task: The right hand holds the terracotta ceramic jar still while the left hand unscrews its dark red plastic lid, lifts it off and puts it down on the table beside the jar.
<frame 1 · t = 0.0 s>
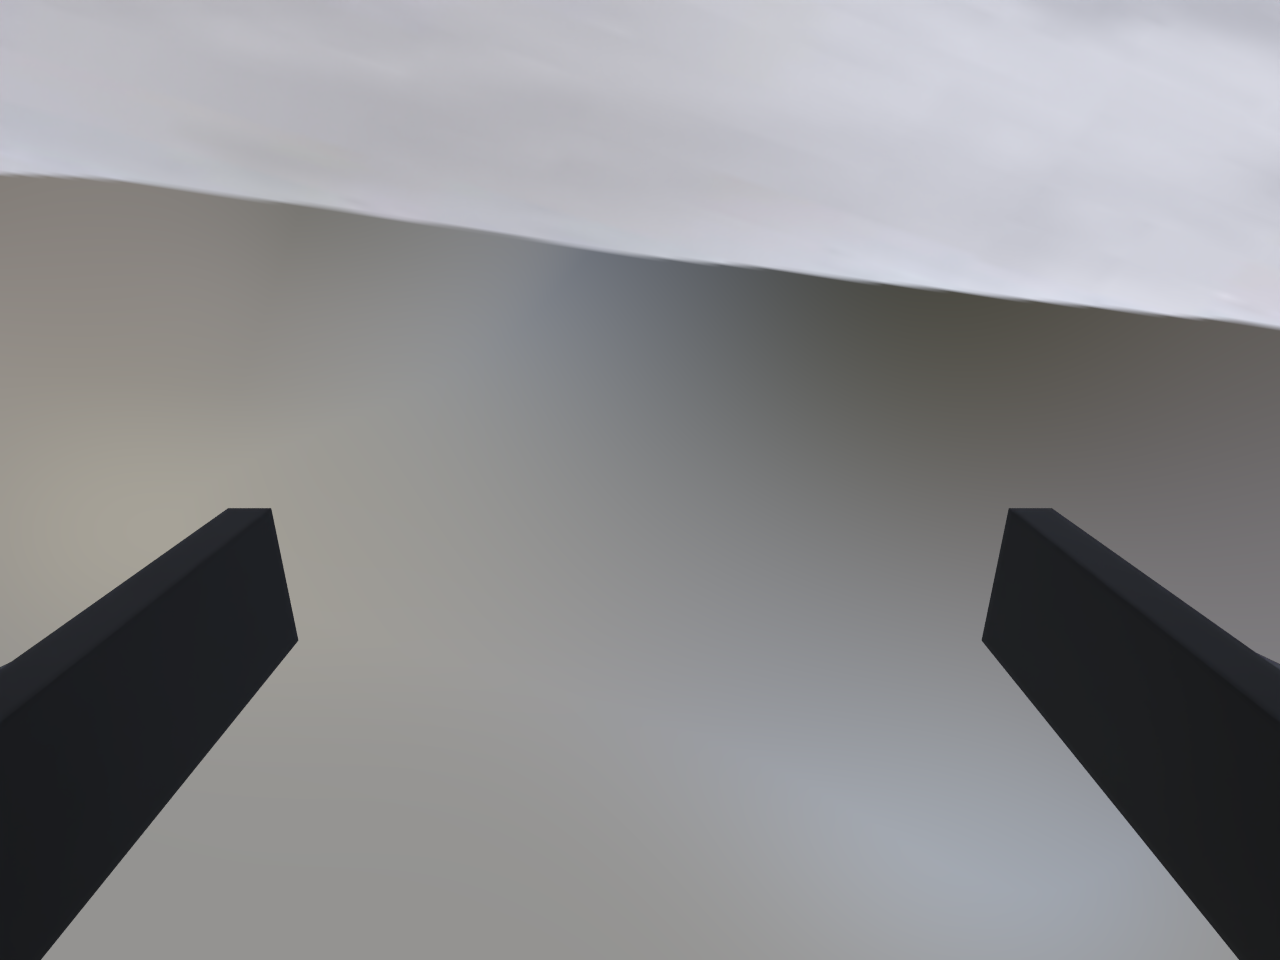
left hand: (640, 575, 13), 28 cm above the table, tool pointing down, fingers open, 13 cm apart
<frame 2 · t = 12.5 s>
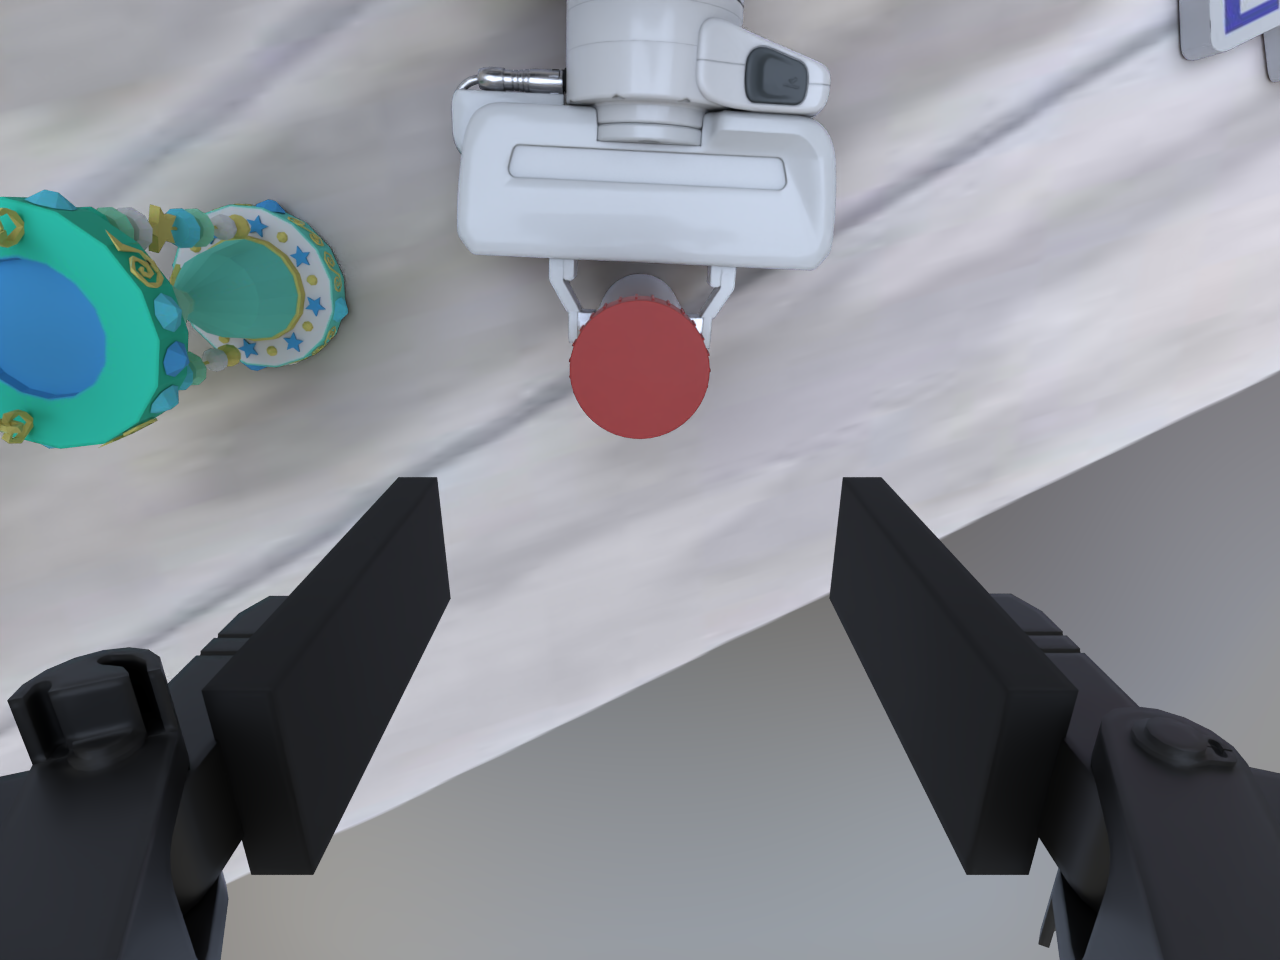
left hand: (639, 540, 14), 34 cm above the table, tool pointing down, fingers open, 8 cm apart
right hand: (639, 344, 41), fingers closed on jar, 5 cm apart
jar: (639, 315, 46), on the table, touching right hand
lid: (639, 370, 29), point 18 cm above the table, screwed on, not yet turned
decorative hourglass: (270, 286, 45), on the table
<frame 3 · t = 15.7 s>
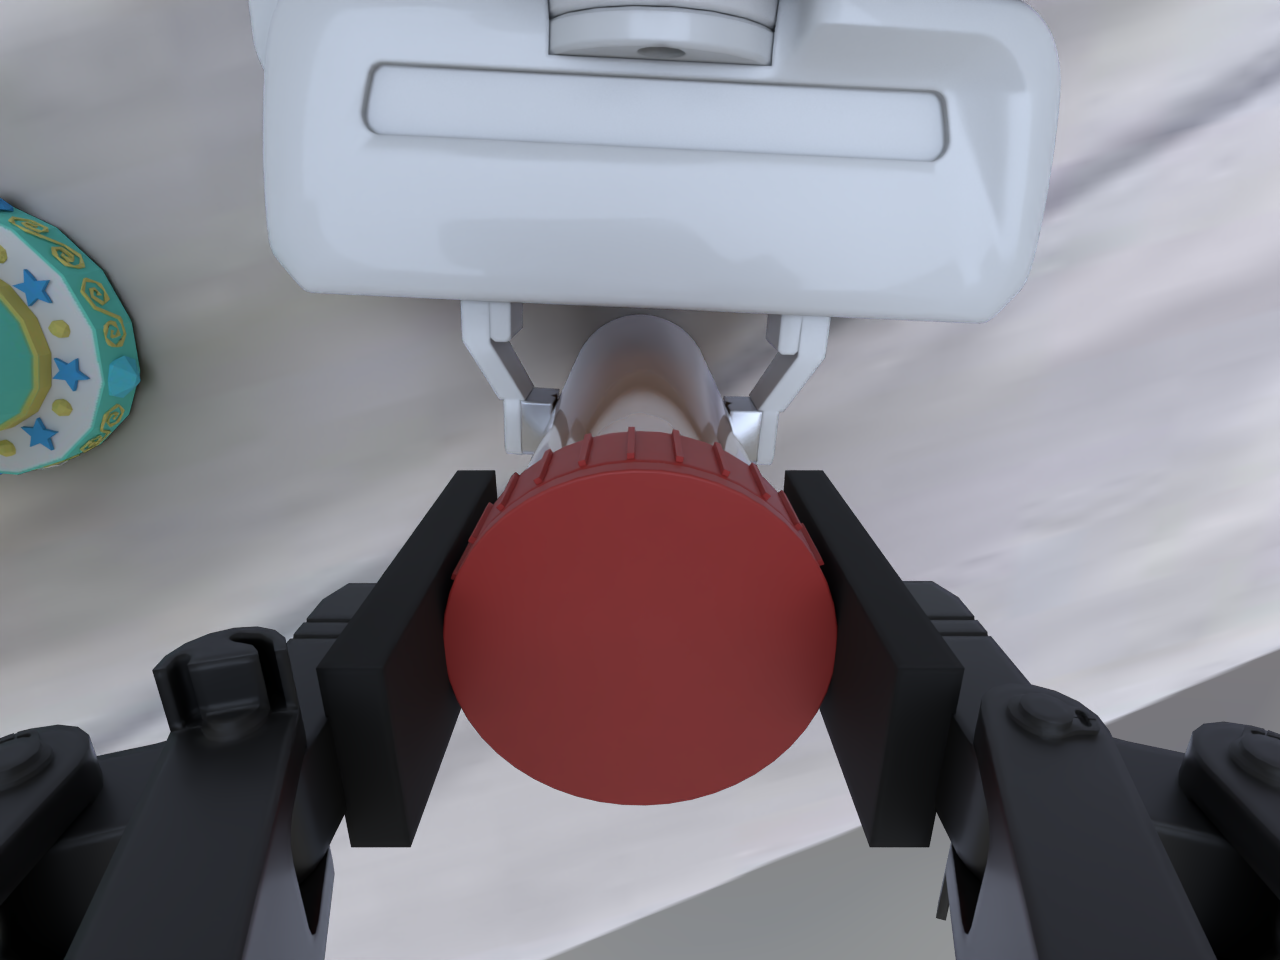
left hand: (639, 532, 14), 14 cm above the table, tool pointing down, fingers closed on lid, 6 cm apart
right hand: (640, 454, 22), fingers closed on jar, 5 cm apart
jar: (640, 382, 27), on the table, touching right hand
lid: (640, 641, 11), point 18 cm above the table, screwed on, not yet turned, touching left hand
decorative hourglass: (10, 335, 27), on the table
when the left hand's fingers open (14 cm above the table, at t = 16.9 s): lid stays where it is, point 18 cm above the table.
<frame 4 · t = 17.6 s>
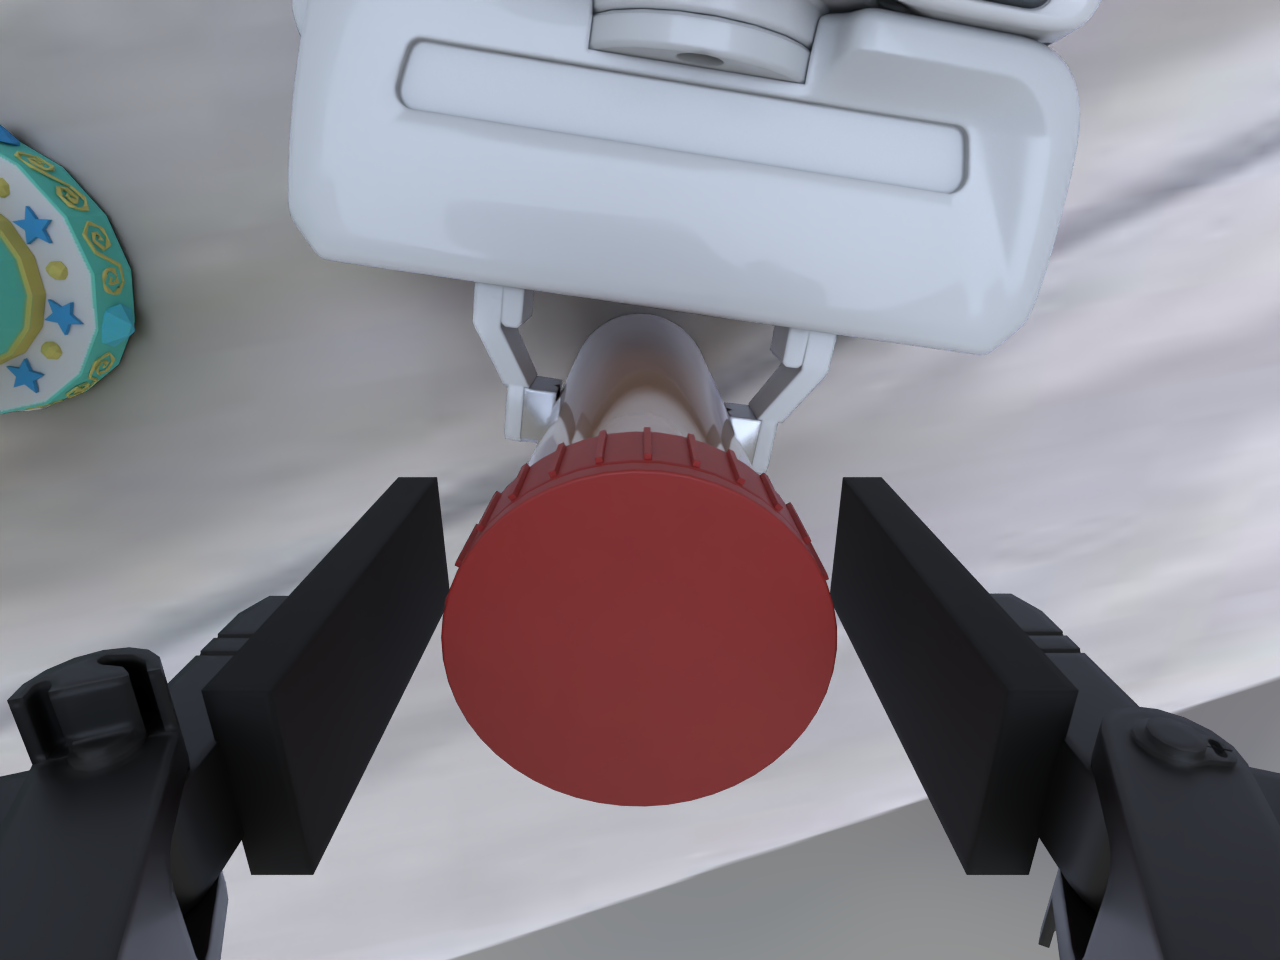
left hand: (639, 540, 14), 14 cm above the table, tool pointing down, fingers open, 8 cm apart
right hand: (637, 452, 22), fingers closed on jar, 5 cm apart
jar: (639, 381, 27), on the table, touching right hand
lid: (639, 642, 11), point 18 cm above the table, turned 81° so far, risen 0.3 cm, still on its thread
decorative hourglass: (2, 272, 26), on the table
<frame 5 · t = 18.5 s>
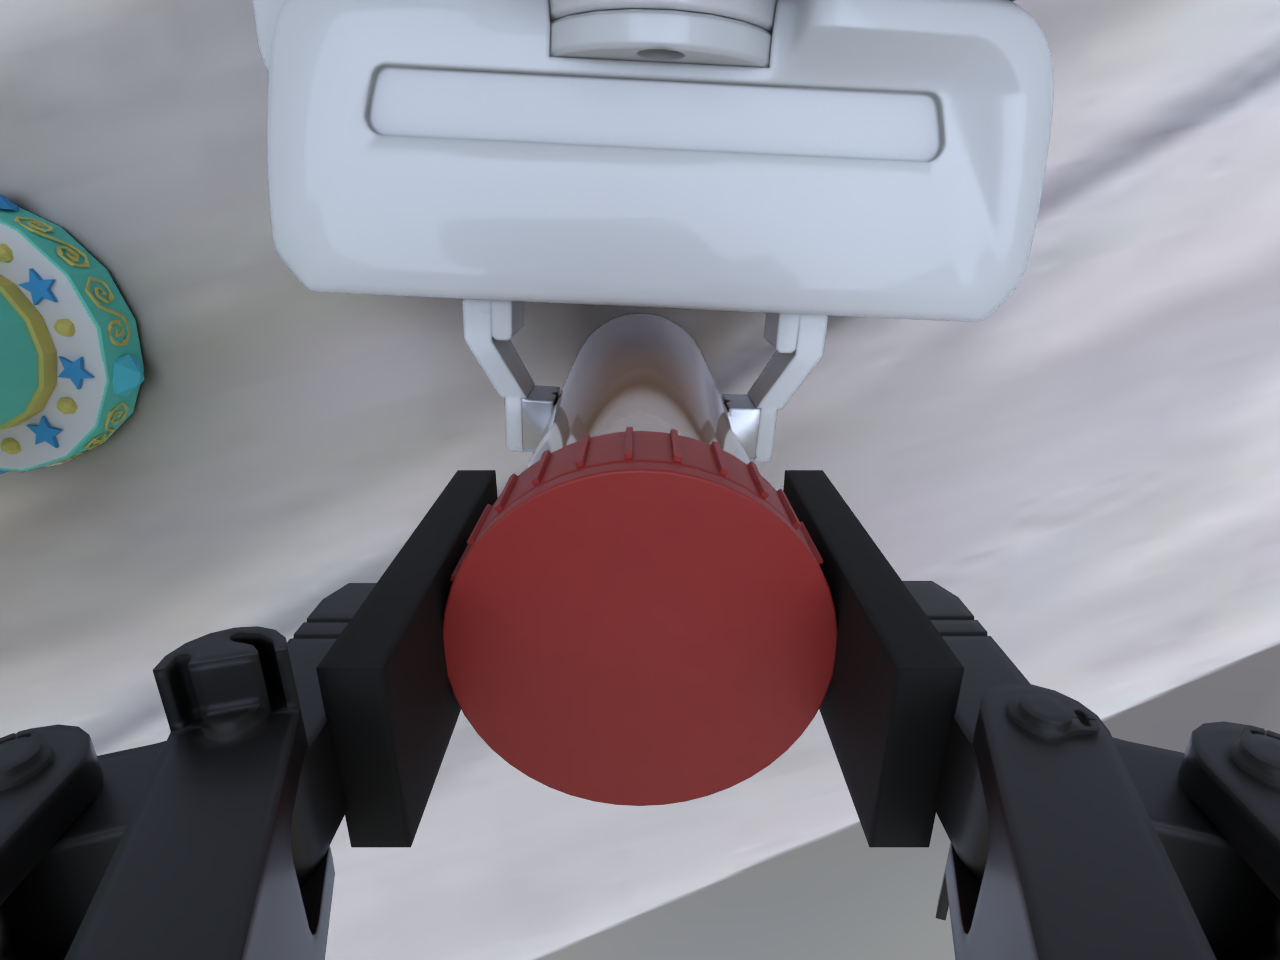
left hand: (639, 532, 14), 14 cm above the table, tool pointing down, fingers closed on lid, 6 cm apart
right hand: (640, 451, 22), fingers closed on jar, 5 cm apart
jar: (640, 381, 27), on the table, touching right hand
lid: (640, 641, 11), point 18 cm above the table, turned 81° so far, risen 0.3 cm, still on its thread, touching left hand
decorative hourglass: (15, 334, 27), on the table
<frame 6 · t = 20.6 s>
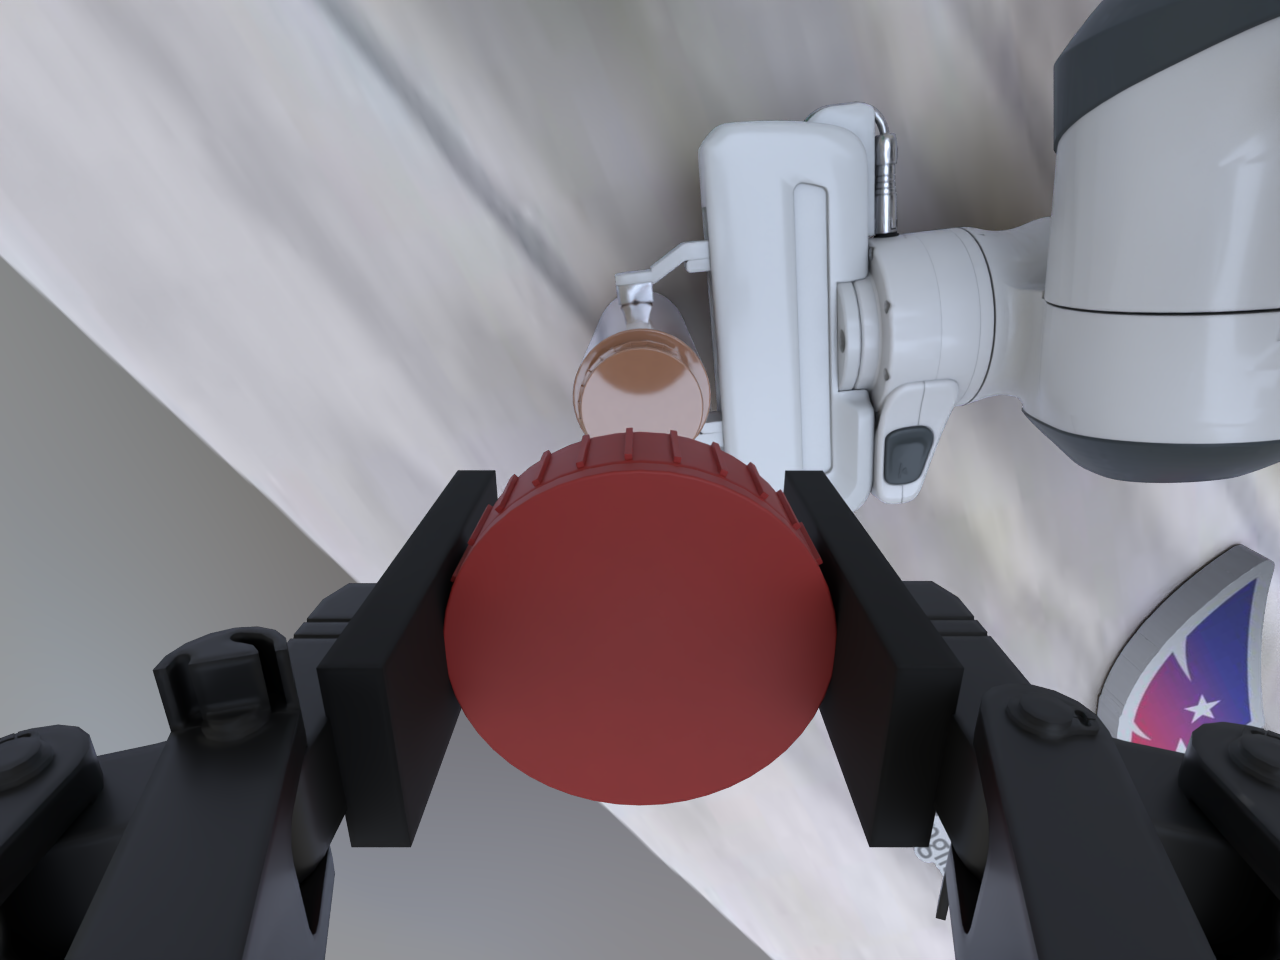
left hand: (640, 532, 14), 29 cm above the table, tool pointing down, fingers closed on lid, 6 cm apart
right hand: (624, 356, 36), fingers closed on jar, 5 cm apart
jar: (641, 335, 41), on the table, touching right hand
lid: (640, 641, 11), point 33 cm above the table, off its thread, touching left hand
decorative sign: (1119, 802, 54), on the table
when the left hand's fingers open (0 cm above the table, at t = 27.7 s): lid drops 3 cm, point 2 cm above the table.
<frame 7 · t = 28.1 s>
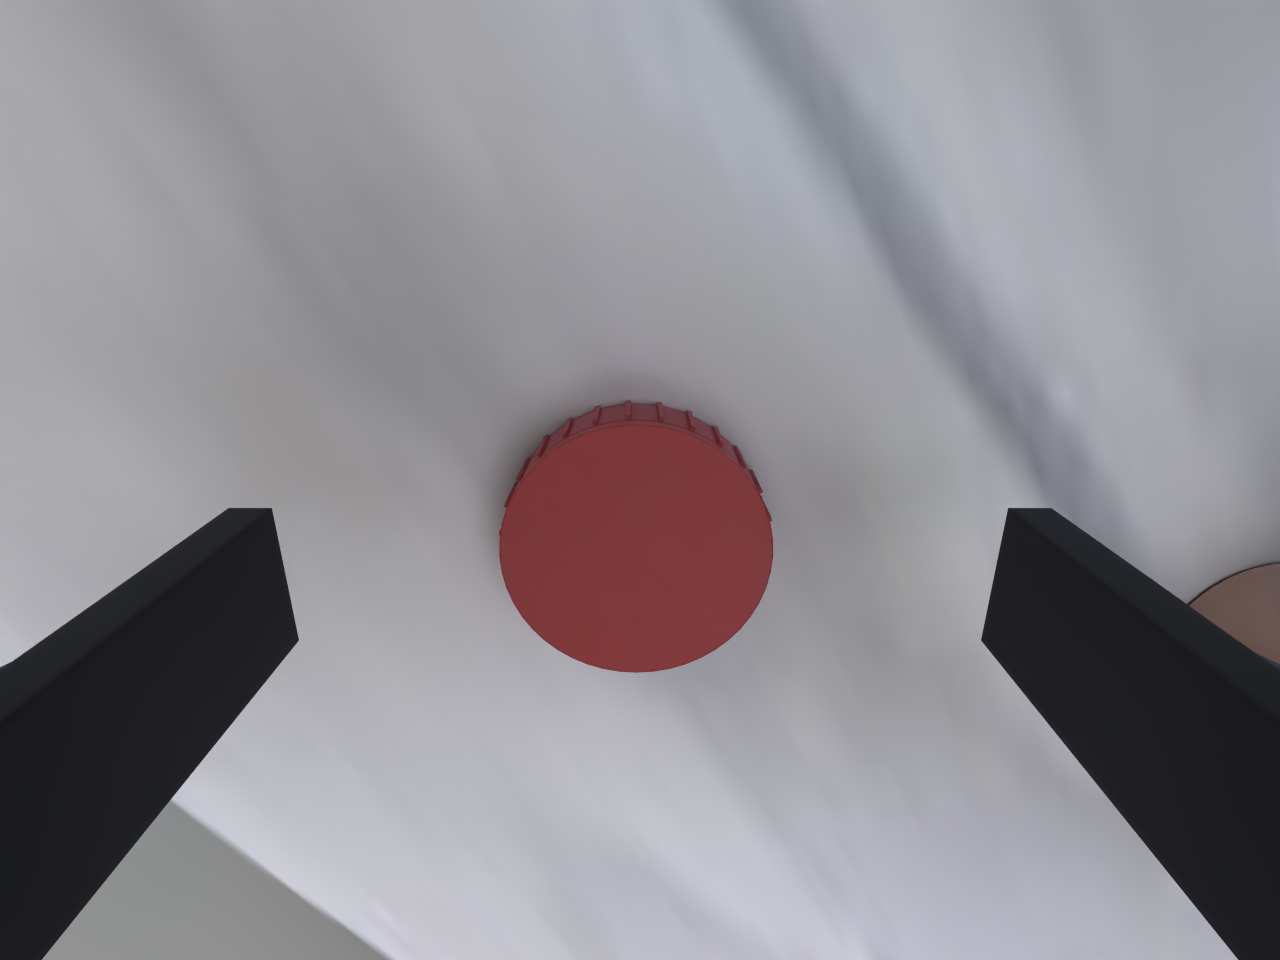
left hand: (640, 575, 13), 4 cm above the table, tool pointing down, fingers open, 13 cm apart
jar: (1258, 653, 18), on the table, touching right hand
lid: (636, 550, 15), point 2 cm above the table, off its thread
when the right hand's fingers open (6 cm above the table, at t = 28.5 s): jar stays where it is, on the table.
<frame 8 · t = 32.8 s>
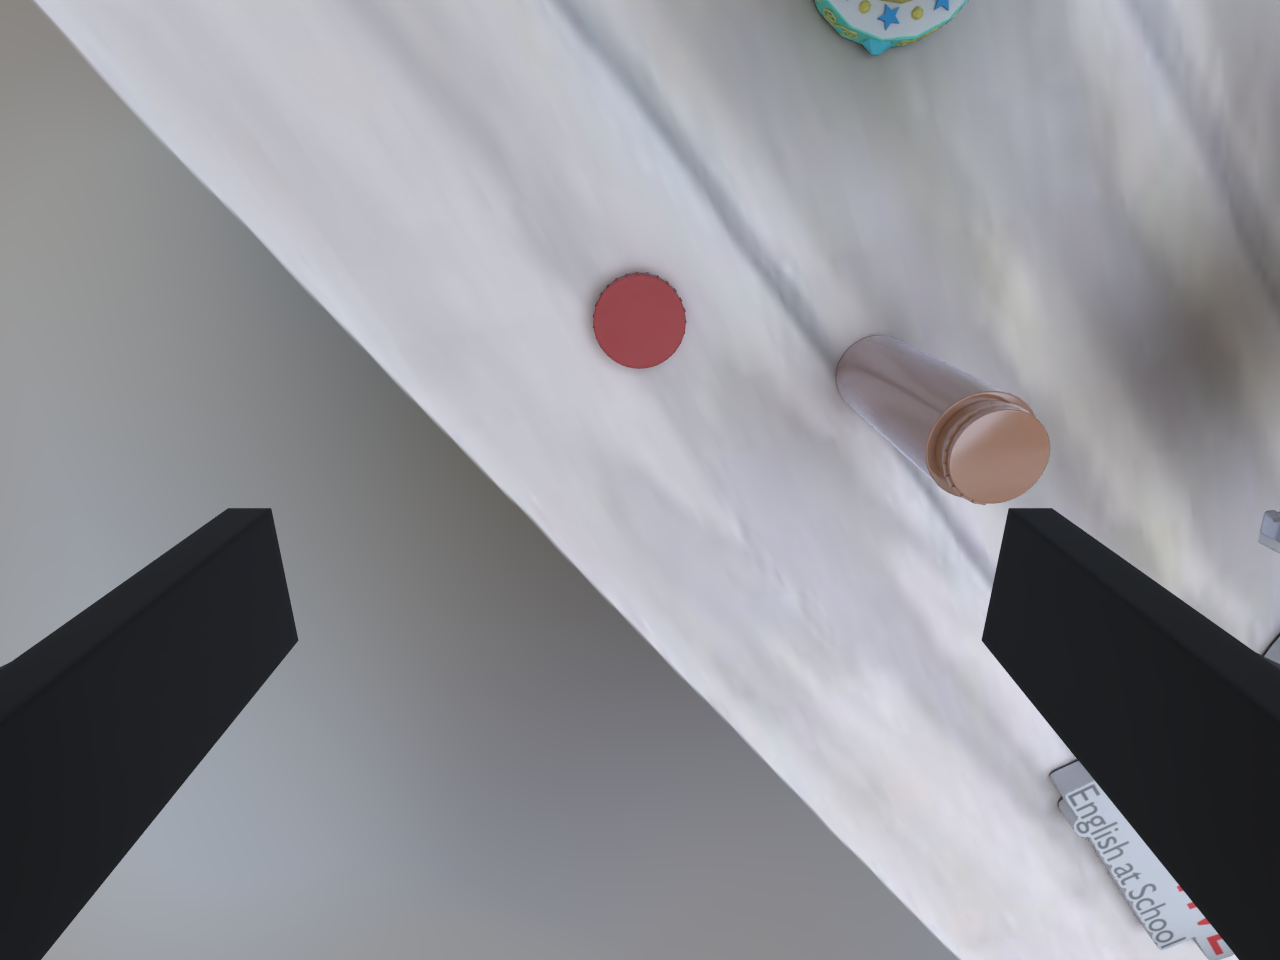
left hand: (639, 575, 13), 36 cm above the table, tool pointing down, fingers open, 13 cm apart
jar: (874, 374, 47), on the table
lid: (639, 322, 45), point 2 cm above the table, off its thread
decorative sign: (1253, 783, 60), on the table
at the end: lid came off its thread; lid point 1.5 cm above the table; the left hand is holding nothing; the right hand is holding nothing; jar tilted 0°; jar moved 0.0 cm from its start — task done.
